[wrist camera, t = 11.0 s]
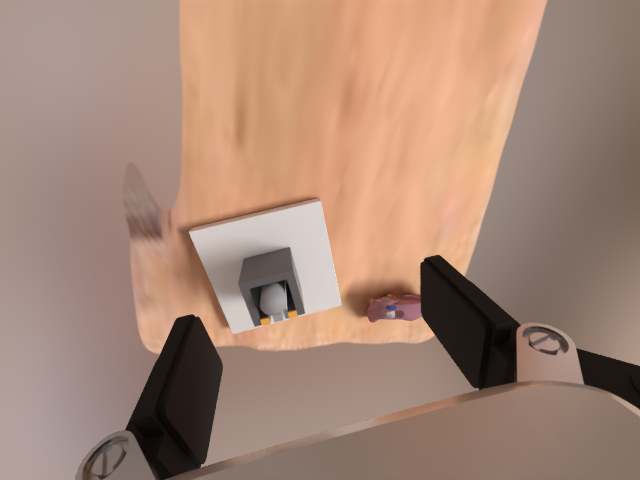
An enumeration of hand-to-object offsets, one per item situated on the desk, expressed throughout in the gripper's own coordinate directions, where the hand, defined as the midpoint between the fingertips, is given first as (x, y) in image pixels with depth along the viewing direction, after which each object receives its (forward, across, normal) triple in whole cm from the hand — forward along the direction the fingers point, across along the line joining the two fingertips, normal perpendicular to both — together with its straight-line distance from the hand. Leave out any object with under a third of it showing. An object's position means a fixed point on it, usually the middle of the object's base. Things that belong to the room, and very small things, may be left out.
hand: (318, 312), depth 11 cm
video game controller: (+23, -12, +22) cm, 34 cm away
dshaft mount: (+24, +5, +11) cm, 27 cm away
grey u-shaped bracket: (+22, +5, +11) cm, 25 cm away
